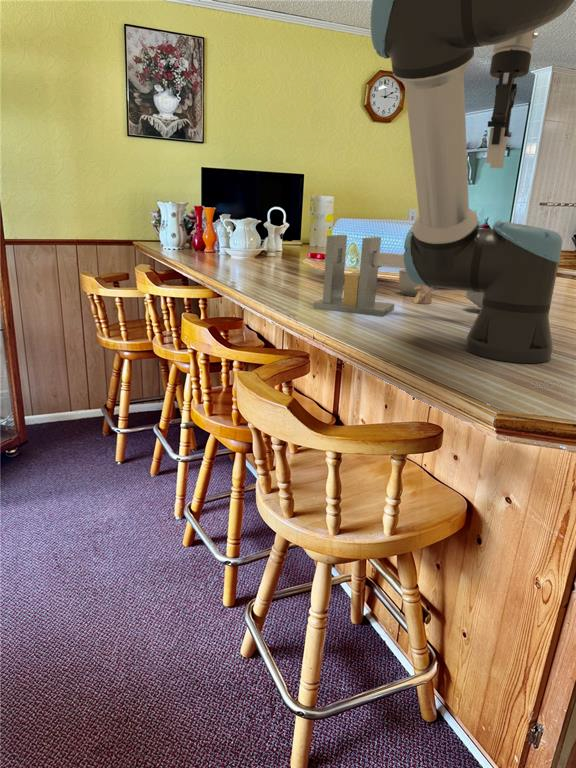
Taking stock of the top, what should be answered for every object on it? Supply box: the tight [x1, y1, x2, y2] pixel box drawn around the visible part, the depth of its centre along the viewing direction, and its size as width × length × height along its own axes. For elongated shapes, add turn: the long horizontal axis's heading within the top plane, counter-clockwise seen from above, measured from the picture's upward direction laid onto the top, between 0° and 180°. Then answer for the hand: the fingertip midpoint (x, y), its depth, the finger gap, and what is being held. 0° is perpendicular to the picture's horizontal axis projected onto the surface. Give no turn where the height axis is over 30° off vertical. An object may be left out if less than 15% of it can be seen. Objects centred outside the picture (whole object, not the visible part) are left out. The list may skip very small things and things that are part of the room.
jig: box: [313, 234, 395, 318], centre depth 137 cm, size 12×18×18 cm, turn 67°
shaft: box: [372, 252, 405, 269], centre depth 130 cm, size 4×24×4 cm, turn 67°
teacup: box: [398, 268, 434, 297], centre depth 167 cm, size 14×11×8 cm
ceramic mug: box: [464, 291, 483, 309], centre depth 143 cm, size 11×8×8 cm
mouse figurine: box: [412, 285, 438, 305], centre depth 153 cm, size 5×8×7 cm, turn 91°
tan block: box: [342, 271, 360, 306], centre depth 138 cm, size 7×4×7 cm, turn 157°
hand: (494, 165), depth 116 cm, fingers open, 13 cm apart
